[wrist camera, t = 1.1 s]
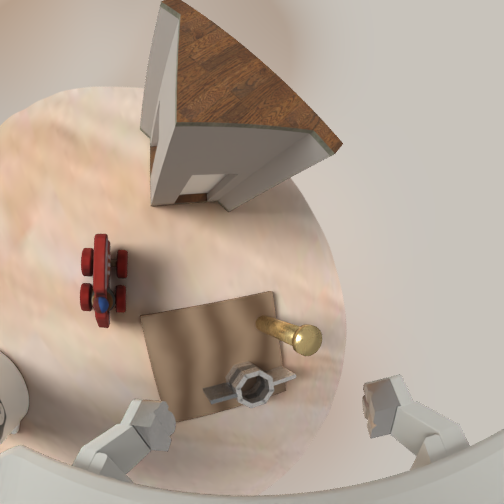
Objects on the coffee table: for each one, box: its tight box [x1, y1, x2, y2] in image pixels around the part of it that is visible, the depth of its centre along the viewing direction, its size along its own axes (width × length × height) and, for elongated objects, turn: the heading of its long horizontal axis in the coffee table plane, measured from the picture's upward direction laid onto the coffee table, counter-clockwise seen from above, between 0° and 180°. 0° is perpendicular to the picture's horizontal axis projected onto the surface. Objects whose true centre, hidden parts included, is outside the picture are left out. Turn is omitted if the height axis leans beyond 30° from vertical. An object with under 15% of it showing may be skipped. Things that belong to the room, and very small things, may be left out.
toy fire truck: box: [80, 234, 128, 328], centre depth 35 cm, size 7×12×10 cm, turn 179°
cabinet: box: [140, 0, 343, 212], centre depth 32 cm, size 21×10×28 cm, turn 51°
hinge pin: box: [256, 315, 322, 356], centre depth 42 cm, size 4×4×14 cm
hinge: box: [202, 361, 296, 408], centre depth 44 cm, size 15×6×5 cm, turn 100°
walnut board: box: [140, 291, 286, 422], centre depth 46 cm, size 22×19×1 cm
